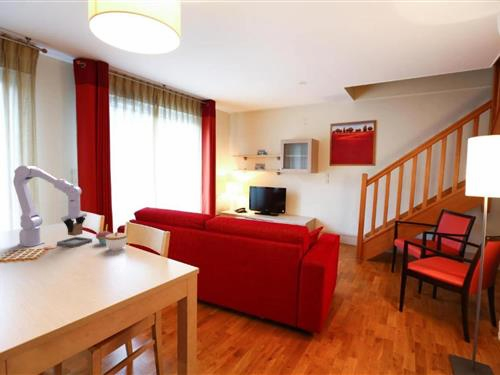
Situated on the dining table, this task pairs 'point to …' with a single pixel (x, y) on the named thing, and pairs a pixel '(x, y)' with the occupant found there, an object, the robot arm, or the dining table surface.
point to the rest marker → (50, 247)
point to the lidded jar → (116, 241)
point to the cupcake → (102, 236)
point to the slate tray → (74, 241)
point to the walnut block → (76, 229)
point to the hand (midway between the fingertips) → (74, 230)
